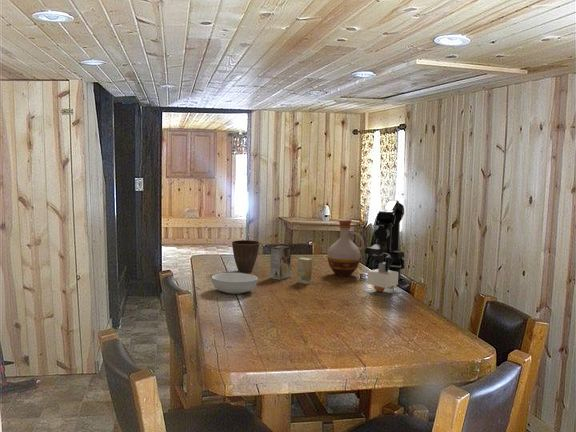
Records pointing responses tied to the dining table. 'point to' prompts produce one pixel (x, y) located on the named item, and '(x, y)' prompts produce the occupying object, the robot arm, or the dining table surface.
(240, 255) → the plant pot
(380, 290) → the ball
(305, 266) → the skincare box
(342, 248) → the jug
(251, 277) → the serving bowl
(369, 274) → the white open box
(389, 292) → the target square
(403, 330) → the dining table surface
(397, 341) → the dining table surface
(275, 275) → the coffee box
